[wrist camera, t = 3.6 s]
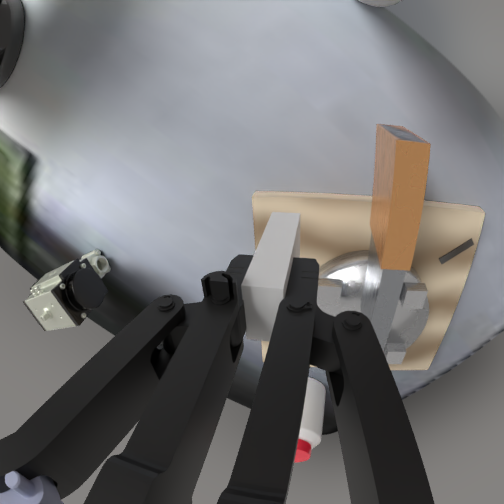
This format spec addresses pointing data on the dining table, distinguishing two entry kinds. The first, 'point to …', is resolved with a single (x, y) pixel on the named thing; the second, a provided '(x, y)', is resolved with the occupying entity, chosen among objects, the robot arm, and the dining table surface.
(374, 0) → the coffee cup
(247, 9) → the dining table surface
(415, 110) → the dining table surface
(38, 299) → the pneumatic valve
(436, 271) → the light wood square board
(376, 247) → the silver saucepan
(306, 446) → the pill bottle
